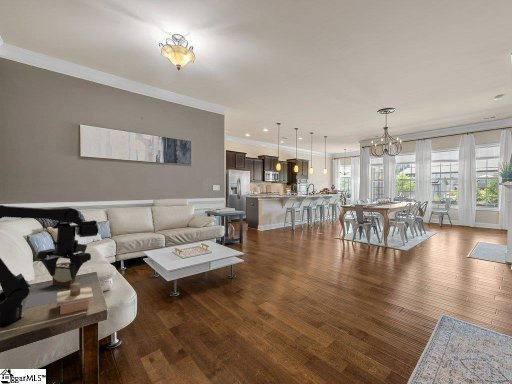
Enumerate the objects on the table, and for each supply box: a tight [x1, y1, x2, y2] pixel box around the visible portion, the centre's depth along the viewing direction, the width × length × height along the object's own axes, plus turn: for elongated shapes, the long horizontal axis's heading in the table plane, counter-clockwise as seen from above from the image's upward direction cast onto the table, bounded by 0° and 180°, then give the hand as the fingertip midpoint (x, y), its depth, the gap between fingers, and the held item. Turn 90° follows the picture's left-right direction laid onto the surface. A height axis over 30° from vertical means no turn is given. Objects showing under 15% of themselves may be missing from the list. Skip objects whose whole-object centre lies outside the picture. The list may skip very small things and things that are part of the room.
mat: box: [23, 288, 68, 309], centre depth 97 cm, size 13×13×1 cm
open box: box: [59, 300, 90, 315], centre depth 91 cm, size 8×8×4 cm
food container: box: [51, 261, 77, 288], centre depth 111 cm, size 12×6×10 cm, turn 84°
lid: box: [56, 282, 94, 307], centre depth 91 cm, size 11×11×5 cm
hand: (62, 277), depth 91 cm, fingers open, 9 cm apart
